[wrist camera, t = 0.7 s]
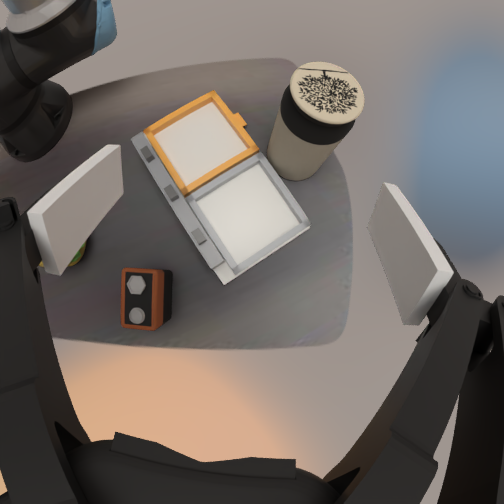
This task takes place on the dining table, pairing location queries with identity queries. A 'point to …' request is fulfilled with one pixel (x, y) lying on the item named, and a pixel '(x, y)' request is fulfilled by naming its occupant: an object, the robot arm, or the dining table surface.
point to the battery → (145, 298)
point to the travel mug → (313, 118)
